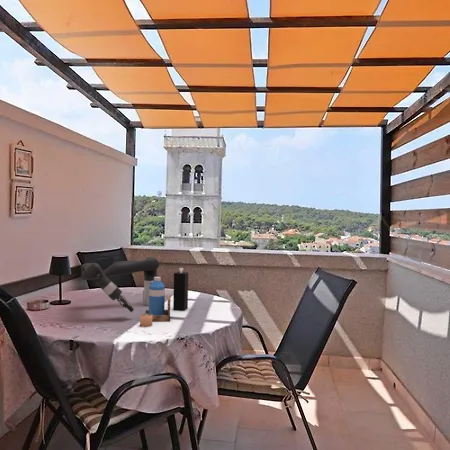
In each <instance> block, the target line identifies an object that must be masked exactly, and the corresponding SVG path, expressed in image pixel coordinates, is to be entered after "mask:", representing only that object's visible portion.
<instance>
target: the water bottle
mask: <svg viewBox="0 0 450 450" xmlns="http://www.w3.org/2000/svg"><path fill="white" fill-rule="evenodd" d="M165 289H166V286H165V284H164V283H163V282H162V278H161V276H158V277H154V281H153V282H152V284H151V285H150V286H149V306H148V310H149V314H152V315H164V310H165V305H166V304H165V302H166V301H165V300H166V299H165V298H166V297H165V292H166V290H165Z"/></svg>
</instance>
